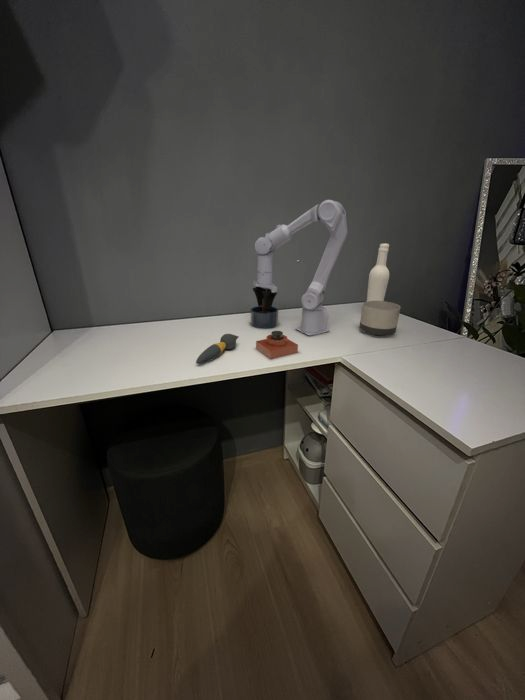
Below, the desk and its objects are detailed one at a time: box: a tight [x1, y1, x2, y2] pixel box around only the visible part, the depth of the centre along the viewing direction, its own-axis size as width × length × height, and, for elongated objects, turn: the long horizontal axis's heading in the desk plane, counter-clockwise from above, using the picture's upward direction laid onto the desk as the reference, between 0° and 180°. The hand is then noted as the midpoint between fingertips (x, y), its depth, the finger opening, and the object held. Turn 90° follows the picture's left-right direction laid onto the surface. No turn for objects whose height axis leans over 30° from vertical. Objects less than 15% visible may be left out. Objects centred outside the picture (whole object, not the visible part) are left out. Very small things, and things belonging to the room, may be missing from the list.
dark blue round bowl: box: [250, 306, 279, 330], centre depth 118 cm, size 11×11×6 cm
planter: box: [358, 300, 401, 337], centre depth 109 cm, size 13×13×10 cm
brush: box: [258, 298, 271, 313], centre depth 117 cm, size 6×6×10 cm
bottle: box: [366, 243, 390, 301], centre depth 124 cm, size 8×8×30 cm
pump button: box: [270, 330, 284, 340], centre depth 93 cm, size 4×4×2 cm
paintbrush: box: [195, 333, 240, 365], centre depth 91 cm, size 20×5×5 cm, turn 155°
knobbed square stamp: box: [255, 334, 299, 360], centre depth 94 cm, size 10×9×4 cm
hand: (264, 307), depth 116 cm, fingers open, 5 cm apart
